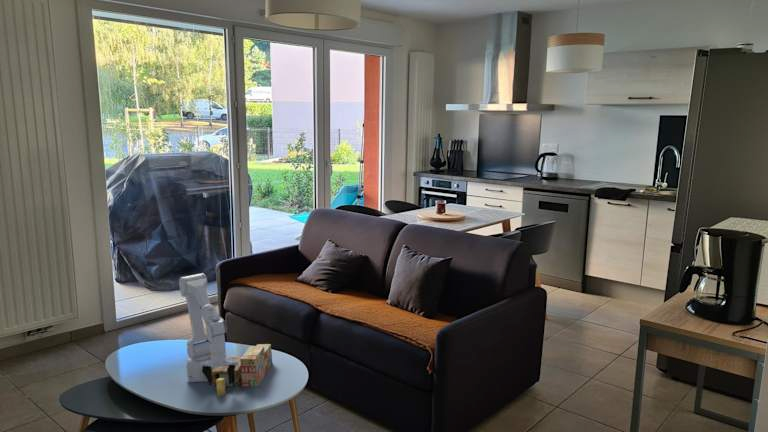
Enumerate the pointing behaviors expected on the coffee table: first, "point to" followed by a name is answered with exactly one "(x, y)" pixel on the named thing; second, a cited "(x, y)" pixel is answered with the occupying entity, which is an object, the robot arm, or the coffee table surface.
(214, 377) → the open wooden box
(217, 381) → the cube joystick
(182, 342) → the coffee table surface
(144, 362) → the coffee table surface
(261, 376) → the stack of blocks
